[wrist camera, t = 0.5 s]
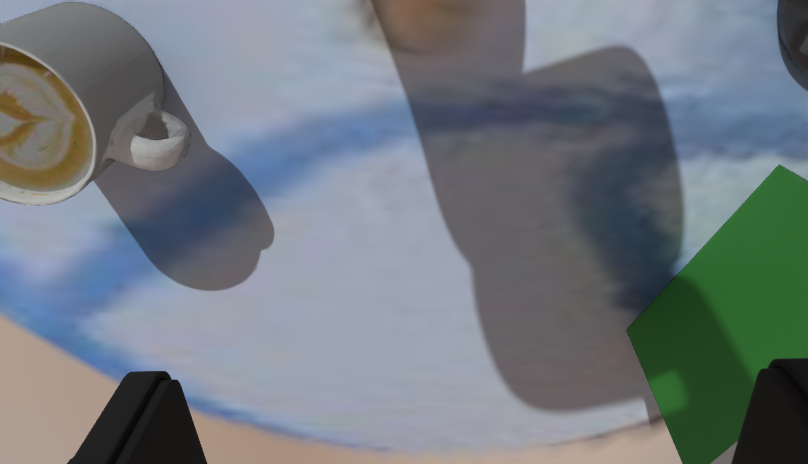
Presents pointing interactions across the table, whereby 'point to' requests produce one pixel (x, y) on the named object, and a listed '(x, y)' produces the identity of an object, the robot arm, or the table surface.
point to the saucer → (794, 31)
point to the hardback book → (729, 320)
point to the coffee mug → (78, 103)
